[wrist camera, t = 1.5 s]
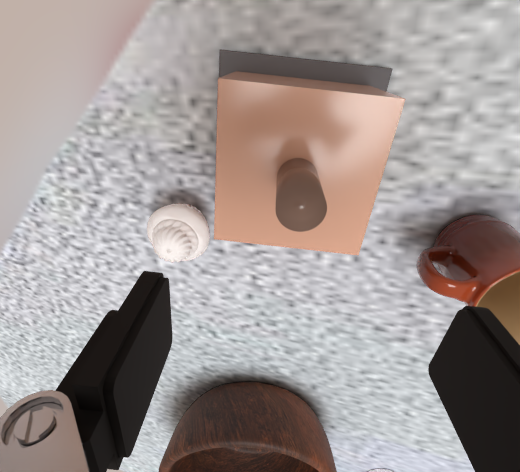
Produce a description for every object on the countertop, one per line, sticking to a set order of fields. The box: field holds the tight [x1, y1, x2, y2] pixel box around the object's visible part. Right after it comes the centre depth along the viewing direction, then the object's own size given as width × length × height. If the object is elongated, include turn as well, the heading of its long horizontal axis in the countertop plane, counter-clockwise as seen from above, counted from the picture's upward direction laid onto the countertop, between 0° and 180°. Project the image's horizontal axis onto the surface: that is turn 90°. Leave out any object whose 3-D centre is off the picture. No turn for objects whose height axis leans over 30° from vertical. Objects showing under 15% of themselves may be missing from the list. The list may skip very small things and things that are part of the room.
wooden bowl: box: [159, 382, 337, 472], centre depth 48 cm, size 25×25×10 cm
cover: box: [214, 71, 405, 255], centre depth 23 cm, size 11×11×14 cm
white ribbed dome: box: [147, 203, 210, 263], centre depth 31 cm, size 6×6×7 cm
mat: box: [219, 50, 392, 91], centre depth 29 cm, size 14×14×1 cm
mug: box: [417, 215, 520, 345], centre depth 29 cm, size 12×9×10 cm
